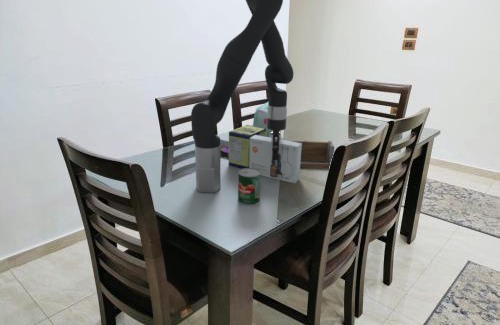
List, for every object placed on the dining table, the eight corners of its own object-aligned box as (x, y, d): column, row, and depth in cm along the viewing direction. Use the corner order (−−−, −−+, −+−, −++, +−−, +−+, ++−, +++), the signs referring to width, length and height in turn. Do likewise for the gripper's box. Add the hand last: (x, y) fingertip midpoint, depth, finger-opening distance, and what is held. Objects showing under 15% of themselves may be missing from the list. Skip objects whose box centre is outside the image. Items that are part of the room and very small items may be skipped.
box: (199, 151, 178) (230, 159, 168) (198, 145, 177) (229, 152, 166) (217, 144, 189) (247, 151, 178) (217, 138, 187) (247, 144, 177)
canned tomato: (260, 196, 131) (261, 168, 127) (259, 206, 124) (260, 176, 120) (238, 195, 131) (238, 167, 127) (237, 205, 124) (237, 175, 120)
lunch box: (265, 134, 207) (267, 97, 199) (282, 136, 204) (284, 99, 196) (250, 147, 183) (251, 106, 176) (269, 150, 180) (271, 108, 173)
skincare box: (248, 173, 151) (249, 137, 145) (254, 169, 155) (255, 134, 150) (294, 184, 142) (297, 146, 136) (299, 179, 146) (302, 142, 141)
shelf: (331, 168, 158) (334, 147, 155) (268, 166, 159) (269, 144, 156) (328, 160, 168) (330, 139, 165) (268, 157, 170) (269, 137, 166)
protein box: (265, 160, 167) (266, 127, 161) (248, 170, 154) (248, 135, 149) (246, 155, 172) (246, 124, 166) (228, 165, 159) (228, 131, 154)
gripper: (287, 121, 133) (284, 163, 138) (285, 113, 146) (283, 151, 152) (267, 120, 133) (265, 162, 139) (267, 112, 146) (265, 150, 152)
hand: (274, 156), depth 145 cm, fingers closed on skincare box, 6 cm apart
